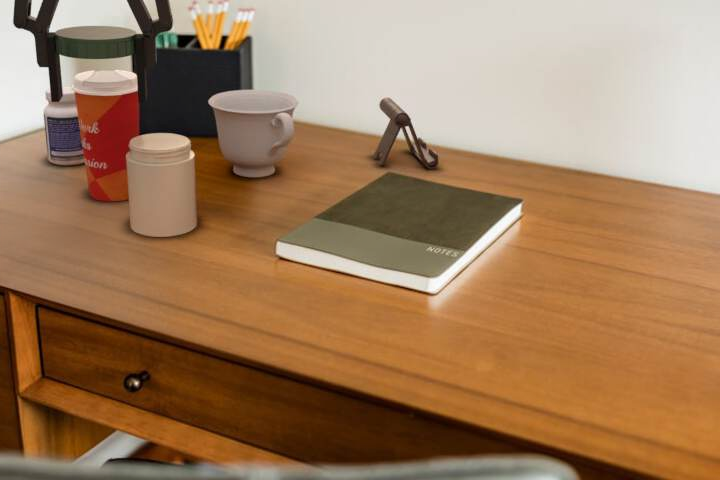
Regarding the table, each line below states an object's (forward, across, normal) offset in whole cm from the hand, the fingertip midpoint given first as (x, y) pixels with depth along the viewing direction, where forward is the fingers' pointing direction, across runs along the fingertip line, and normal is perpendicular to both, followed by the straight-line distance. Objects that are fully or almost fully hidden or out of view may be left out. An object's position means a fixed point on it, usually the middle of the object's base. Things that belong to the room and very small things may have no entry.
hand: (100, 98), depth 93 cm
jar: (+16, +6, +5) cm, 18 cm away
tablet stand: (+16, +39, +28) cm, 50 cm away
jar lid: (-6, 0, 0) cm, 6 cm away
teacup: (+16, +18, +23) cm, 33 cm away
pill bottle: (+16, -8, +30) cm, 35 cm away
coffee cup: (+16, -1, +16) cm, 23 cm away
